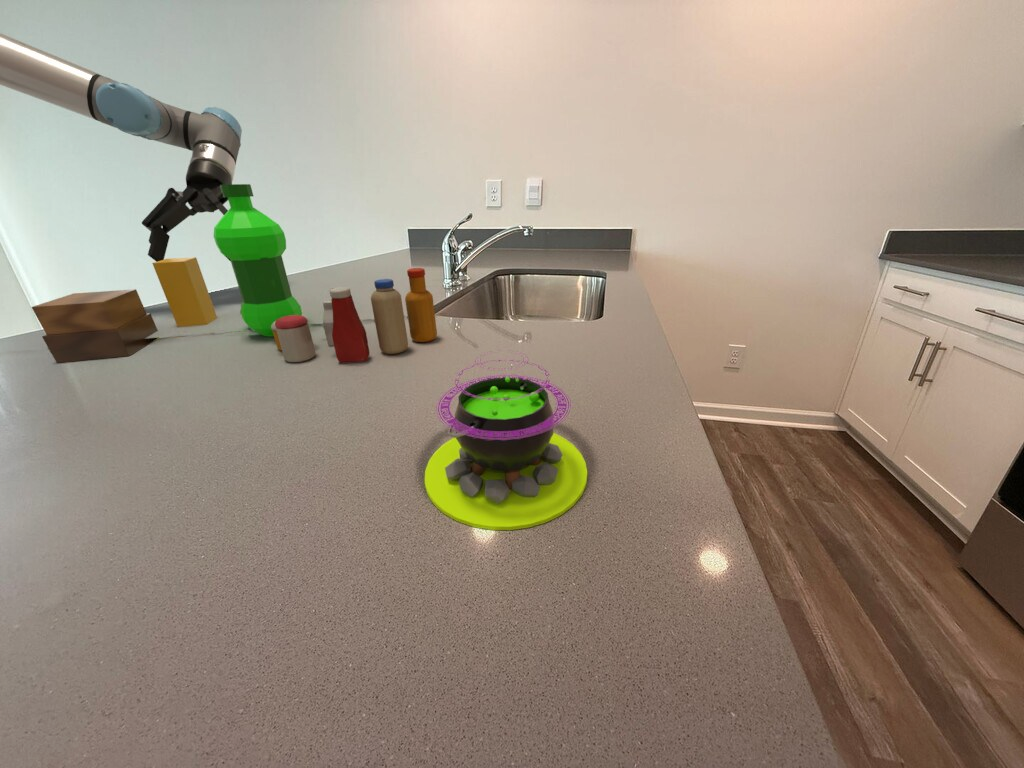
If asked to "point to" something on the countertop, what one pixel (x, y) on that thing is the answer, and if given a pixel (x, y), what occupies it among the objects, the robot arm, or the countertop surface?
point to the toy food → (348, 328)
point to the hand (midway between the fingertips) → (191, 258)
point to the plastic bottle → (255, 260)
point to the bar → (185, 291)
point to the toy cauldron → (505, 455)
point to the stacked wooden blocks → (95, 325)
